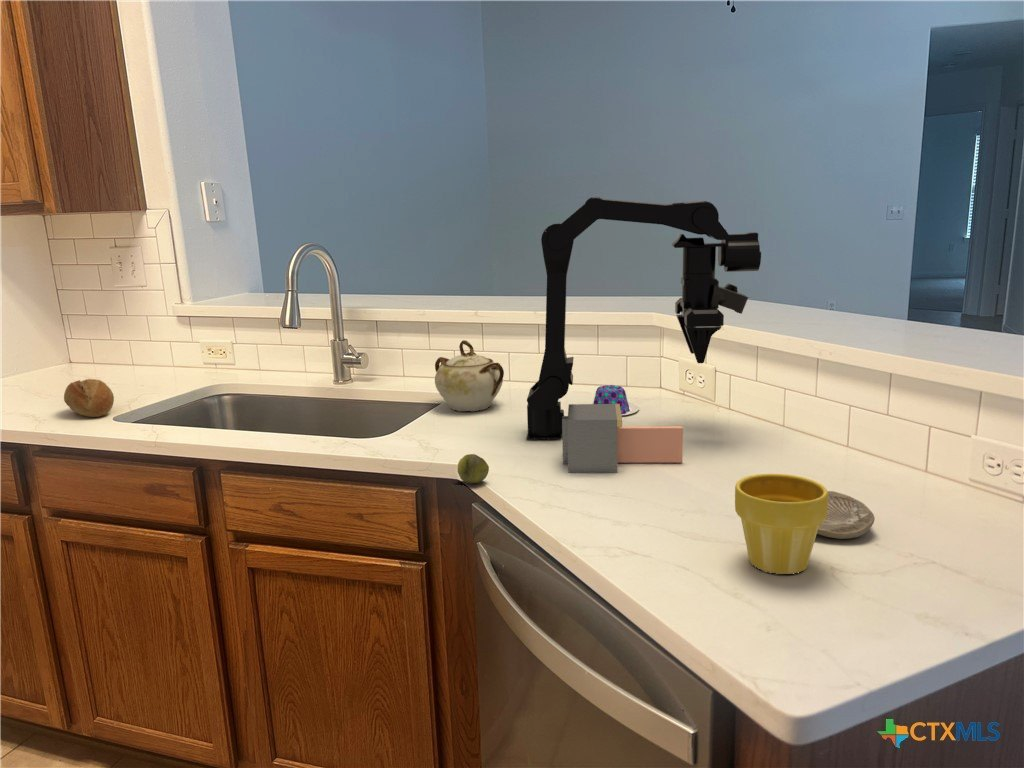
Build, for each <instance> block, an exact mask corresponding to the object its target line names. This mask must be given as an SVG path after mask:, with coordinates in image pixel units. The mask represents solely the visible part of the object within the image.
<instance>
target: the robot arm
mask: <svg viewBox="0 0 1024 768" xmlns="http://www.w3.org/2000/svg"><path fill="white" fill-rule="evenodd" d="M719 219H720V218H719V210H718V209H717V207H716V206H715V205H714V204H713V203H712V202H710V201H706V200H693V201H684V202H683V201H682V202H673V203H656V202H655V203H654V202H644V201H636V200H633V201H632V200H624V199H622V200H621V199H612V198H601V197H600V196H592V197H589V198H588V199H587V200H586V201H585V203H584V204H582V206H581V207H579V208H578V209H577V210H575V212H573V213H572V214H571V215H569V217H567V218H566V219H565V220H564V221H563V222H555V223H552V224H550V225H549V226H547V227H546V228H545V229H544V230H543V232H542V234H541V247H542V256H543V261H544V267H545V271H546V295H545V296H546V298H545V299H546V300H545V303H546V304H545V306H546V307H545V339H544V343H545V344H544V347H545V348H544V353H543V358H542V362H541V367H540V372H539V376H538V380H537V381H535V383H534V384H533V385H532V386H531V387H530V388H529V392H528V395H527V398H526V401H527V405H526V413H527V414H526V415H527V417H526V418H527V434H526V440H562V416H565V411H564V409H562V407H561V405H562V402H561V401H560V399H562V398H563V397H564V396H566V395H567V393H568V391H569V386H570V385H571V386H572V385H573V384H574V383H573V382H574V374H573V372H572V370H573V366H574V356H570V357H567V353H566V346H565V345H566V318H567V316H566V315H567V308H566V307H567V281H568V273H569V272H568V271H569V266H570V261H571V256H572V254H573V253H572V252H573V248H574V242H575V239H576V238H578V237H579V236H580V235H581V234H582V233H583V232H585V231H586V230H587V229H588V228H589V227H591V226H592V225H593V224H594V223H595V222H597V220H608V221H618V222H622V221H623V222H629V223H641V224H650V225H651V224H652V225H663V226H665V227H666V226H667V227H671V228H673V229H678V230H681V231H684V232H688V233H692V234H695V235H705V236H707V237H708V238H710V239H713V240H715V241H720V242H705V239H704V237H686V236H685V234H683V233H680V234H679V236H678V237H677V239H675V240H674V241H673V242H672V243H671V246H672V247H673V248H675V249H679V248H680V249H681V248H682V273H681V274H682V277H680V284H682V285H681V287H682V290H681V295H682V296H681V297H679V299H677V300H676V302H675V303H674V304H675V306H674V307H675V310H674V312H675V314H676V318H677V321H678V324H679V326H680V328H681V331H682V332H681V333H682V334H683V336H684V339H685V342H686V344H687V347H688V349H689V352H690V354H694V358H695V361H696V363H697V364H704V363H705V361H706V356H707V352H708V349H709V346H710V342H711V340H712V336H714V334H715V333H716V332H718V331H720V330H721V329H722V327H723V326H724V325H725V323H724V322H725V321H724V318H725V315H724V313H723V312H721V311H720V310H719V308H720V307H719V306H721V307H723V308H726V309H729V310H732V311H734V312H735V313H738V314H740V315H741V314H743V312H744V309H745V306H746V304H747V302H748V299H749V296H747V295H745V294H743V293H741V292H738V291H739V290H738V286H736V285H735V284H734V285H733V284H731V283H727V284H726V285H725V286H724V287H722V286H719V284H720V282H719V280H718V279H717V278H716V261H717V263H718V265H717V266H719V267H723V271H724V272H725V273H729V272H730V273H733V272H734V273H736V272H737V273H738V272H758V271H759V270H760V266H761V263H762V262H761V261H762V251H761V249H760V241H759V233H758V232H756V231H755V232H753V231H752V232H746V233H745V232H744V233H728V231H727V229H725V228H724V226H723V225H722V223H721V222H720V221H719ZM716 250H717V251H716ZM716 253H717V254H716ZM716 256H717V257H716ZM716 258H717V260H716Z"/></svg>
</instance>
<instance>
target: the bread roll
mask: <svg viewBox="0 0 1024 768" xmlns="http://www.w3.org/2000/svg"><path fill="white" fill-rule="evenodd" d="M63 400H64V401H63V402H64V404H66V406H68V408H69V409H70V410H71V411H73V412H75V413H76V414H79V415H81V416H84V417H89V418H96V417H97V418H98V417H102V416H105V415H108V413H109V412H110V411H111V410H112V409H113V405H114V401H115V396H114V393H113V391H112V389H111V388H110V386H108V385H107V384H106V383H105V382H103V381H102V380H100V379H92V378H88V379H87V378H86V379H83V380H82V381H81V380H80V379H78V380H75V381H73V382H70V383H69V384H68V385H67V387H65V391H64V395H63Z"/></svg>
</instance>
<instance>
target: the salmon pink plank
mask: <svg viewBox="0 0 1024 768" xmlns="http://www.w3.org/2000/svg"><path fill="white" fill-rule="evenodd" d="M683 442H684V427H683V426H679V425H678V426H677V425H676V426H674V425H673V426H670V425H669V426H622V427H617V464H618V463H683V460H684V459H683V450H684V449H683V448H684V443H683Z"/></svg>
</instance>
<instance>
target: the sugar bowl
mask: <svg viewBox="0 0 1024 768" xmlns="http://www.w3.org/2000/svg"><path fill="white" fill-rule="evenodd" d="M464 346H467V347H468V348H469V351H468V352H465V350H464ZM459 351H460V352H459V353H460V354H459V355H457V356H454V357H452V358H450V359H449V358H446V357H443V356H440V357H438V358H436V360H435V363H434V368H435V372H436V373H435V376H434V384H435V385H434V386H435V388H436V390H437V391H438V393H439V395H440V396H441V397H442V399H443V400H444V401H445V402H446V403H447V405H448V406H449V407H450V409H451V408H452V409H453V411H455V410H457V411H456V412H461V411H471V412H479V410H480V411H483V410H487V409H488V407H489V408H490V407H491V405H492V403H493V401H494V400H495V398H496V397H497V395H498V393H499V392H500V390H501V388H502V386H503V382H504V376H505V371H504V368H503V366H502V364H501V363H499V362H494V360H493V359H492V358H489V357H486V356H483V355H480V354H477V353H476V352H474V351H475V350H474V347H473V345H472V344H471V343H470V342H469V341H468V340H461V342H460V343H459ZM452 409H451V410H452Z"/></svg>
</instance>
